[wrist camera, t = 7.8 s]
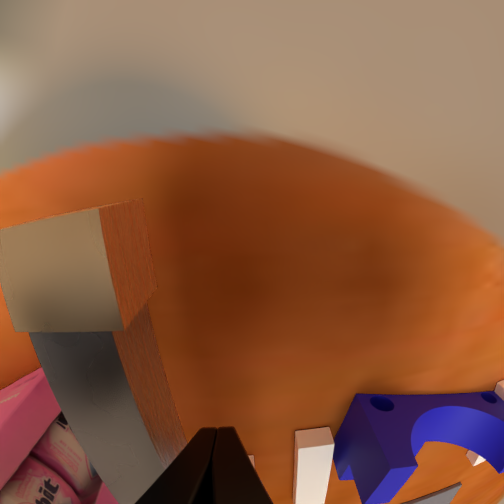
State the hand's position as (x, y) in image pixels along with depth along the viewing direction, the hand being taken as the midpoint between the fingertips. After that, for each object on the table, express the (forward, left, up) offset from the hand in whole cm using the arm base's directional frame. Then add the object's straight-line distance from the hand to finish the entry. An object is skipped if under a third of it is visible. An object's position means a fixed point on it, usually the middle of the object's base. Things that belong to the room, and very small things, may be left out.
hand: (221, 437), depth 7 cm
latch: (-3, +2, -7) cm, 8 cm away
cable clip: (-9, -11, -8) cm, 17 cm away
